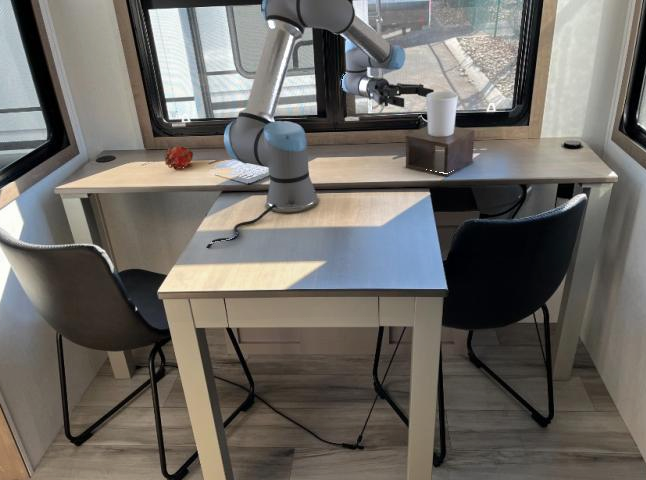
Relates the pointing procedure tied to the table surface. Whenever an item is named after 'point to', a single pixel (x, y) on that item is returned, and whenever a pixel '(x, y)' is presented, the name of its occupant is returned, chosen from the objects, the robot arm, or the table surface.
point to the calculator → (244, 169)
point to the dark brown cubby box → (426, 157)
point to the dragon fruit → (178, 157)
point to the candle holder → (441, 113)
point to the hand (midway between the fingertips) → (418, 98)
